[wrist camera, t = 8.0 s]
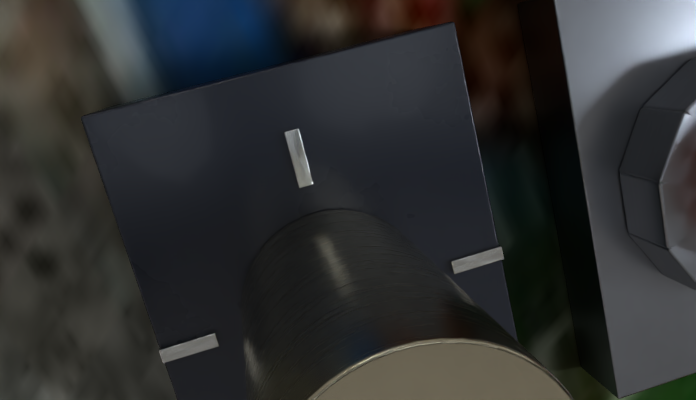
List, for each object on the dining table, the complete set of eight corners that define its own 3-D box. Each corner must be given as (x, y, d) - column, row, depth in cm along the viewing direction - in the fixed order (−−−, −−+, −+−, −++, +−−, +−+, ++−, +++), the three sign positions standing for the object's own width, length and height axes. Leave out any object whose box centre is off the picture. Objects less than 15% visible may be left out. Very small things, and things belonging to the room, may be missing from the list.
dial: (271, 413, 17) (311, 726, 9) (216, 240, 16) (207, 421, 8) (445, 356, 17) (631, 601, 9) (405, 185, 16) (577, 300, 8)
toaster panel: (103, 108, 18) (78, 117, 15) (419, 28, 19) (457, 20, 16) (229, 484, 20) (229, 558, 17) (497, 395, 22) (542, 449, 18)
